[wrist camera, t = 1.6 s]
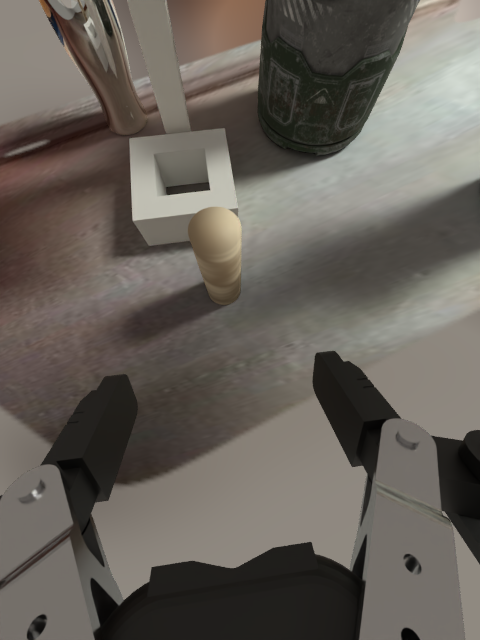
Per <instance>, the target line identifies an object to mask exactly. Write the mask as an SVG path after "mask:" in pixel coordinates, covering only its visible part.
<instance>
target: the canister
mask: <svg viewBox="0 0 480 640" xmlns="http://www.w3.org/2000/svg"><path fill="white" fill-rule="evenodd" d="M419 1H420V0H266V2H265V10H264V17H263V25H262V38H261V54H260V69H259V85H258V116H259V120H260V123H261V125H262V127H263V129H264V131H265V133H266V134H267V135H268V137H269V138H270V139H271V140H272V141H274V142H275V143H276V144H277V145H279V146H281V147H282V148H284V149H288V147H289V148H292V149H294V150H298V151H303V152H312V153H315V155H326V154H330V153H333V152H336V151H338V150H340V149H342V148H344V147H345V146H347V145H348V144H349V143H350V142H352V141H353V140H354V139H355V138H356V137H357V136H358V134H359V133H360V132H361V130H362V128H363V126H364V124H365V122H366V121H367V119H368V117H369V115H370V113H371V111H372V109H373V107H374V105H375V103H376V100H377V98H378V96H379V94H380V92H381V90H382V88H383V86H384V84H385V82H386V80H387V78H388V76H389V74H390V72H391V70H392V67H393V65H394V63H395V61H396V59H397V57H398V55H399V53H400V50H401V47H402V44H403V41H404V37H405V34H406V31H407V27H408V24H409V22H410V20H411V18H412V16H413V14H414V11H415V9H416V7H417V5H418V3H419Z"/></svg>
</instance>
